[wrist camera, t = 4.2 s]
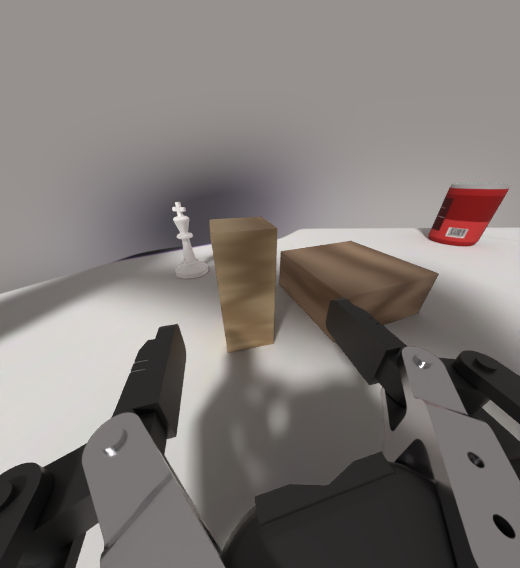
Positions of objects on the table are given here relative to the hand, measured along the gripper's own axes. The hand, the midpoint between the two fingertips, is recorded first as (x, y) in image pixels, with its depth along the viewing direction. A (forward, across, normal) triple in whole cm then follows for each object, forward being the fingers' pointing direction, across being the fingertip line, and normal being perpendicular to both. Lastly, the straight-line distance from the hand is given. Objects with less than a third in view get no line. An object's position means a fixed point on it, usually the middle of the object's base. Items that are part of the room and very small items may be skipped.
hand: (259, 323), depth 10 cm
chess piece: (+21, +6, +6) cm, 22 cm away
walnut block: (+9, -12, +6) cm, 16 cm away
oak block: (+6, 0, +6) cm, 8 cm away
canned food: (+22, -48, +6) cm, 53 cm away
